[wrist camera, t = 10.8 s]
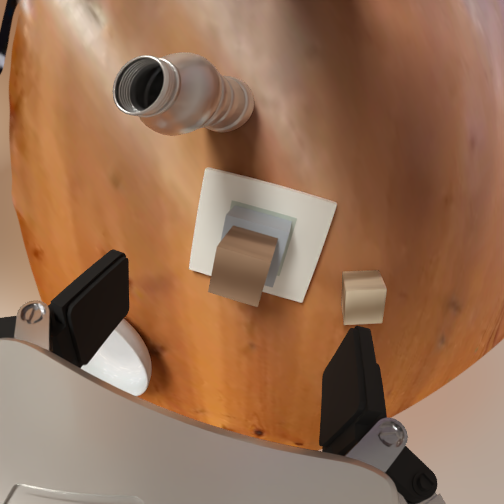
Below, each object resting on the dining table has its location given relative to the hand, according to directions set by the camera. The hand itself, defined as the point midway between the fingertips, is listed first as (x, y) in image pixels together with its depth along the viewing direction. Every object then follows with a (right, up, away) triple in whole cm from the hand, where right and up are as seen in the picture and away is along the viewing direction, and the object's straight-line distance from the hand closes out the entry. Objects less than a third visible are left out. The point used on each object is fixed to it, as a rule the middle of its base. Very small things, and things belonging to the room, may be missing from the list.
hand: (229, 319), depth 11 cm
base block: (+1, +4, +25) cm, 25 cm away
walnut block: (+1, +3, +21) cm, 21 cm away
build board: (+2, +5, +26) cm, 26 cm away
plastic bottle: (-2, +20, +20) cm, 28 cm away
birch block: (+15, -2, +26) cm, 30 cm away
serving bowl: (-26, -14, +40) cm, 49 cm away
